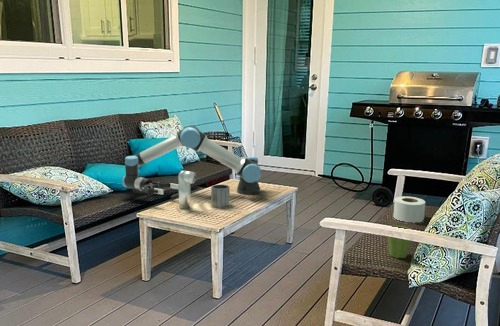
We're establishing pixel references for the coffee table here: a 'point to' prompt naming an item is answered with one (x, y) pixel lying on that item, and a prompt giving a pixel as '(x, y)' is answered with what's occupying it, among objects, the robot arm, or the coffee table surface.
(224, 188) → the grey wooden bucket
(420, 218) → the toilet paper roll
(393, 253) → the plant pot
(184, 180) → the polished capsule rod
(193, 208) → the birch board
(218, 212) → the coffee table surface
